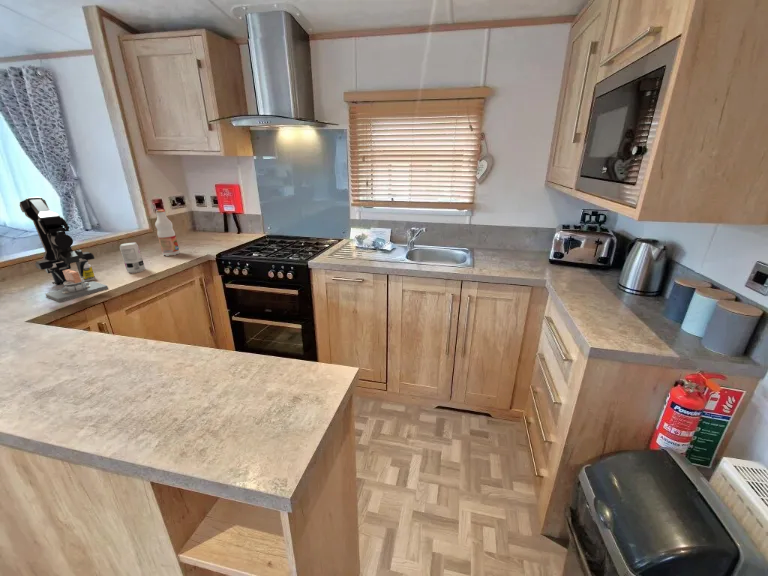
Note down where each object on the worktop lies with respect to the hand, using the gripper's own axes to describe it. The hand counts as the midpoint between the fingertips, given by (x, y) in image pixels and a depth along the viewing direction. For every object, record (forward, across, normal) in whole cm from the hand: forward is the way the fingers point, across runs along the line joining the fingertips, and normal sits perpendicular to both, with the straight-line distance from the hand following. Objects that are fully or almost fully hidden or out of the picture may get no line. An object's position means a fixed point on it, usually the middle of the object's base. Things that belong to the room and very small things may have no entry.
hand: (72, 278), depth 151 cm
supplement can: (+7, +30, +11) cm, 33 cm away
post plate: (+7, 0, 0) cm, 7 cm away
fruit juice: (+7, +59, +28) cm, 66 cm away
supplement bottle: (+7, +11, +18) cm, 22 cm away
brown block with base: (+5, 0, 0) cm, 5 cm away
